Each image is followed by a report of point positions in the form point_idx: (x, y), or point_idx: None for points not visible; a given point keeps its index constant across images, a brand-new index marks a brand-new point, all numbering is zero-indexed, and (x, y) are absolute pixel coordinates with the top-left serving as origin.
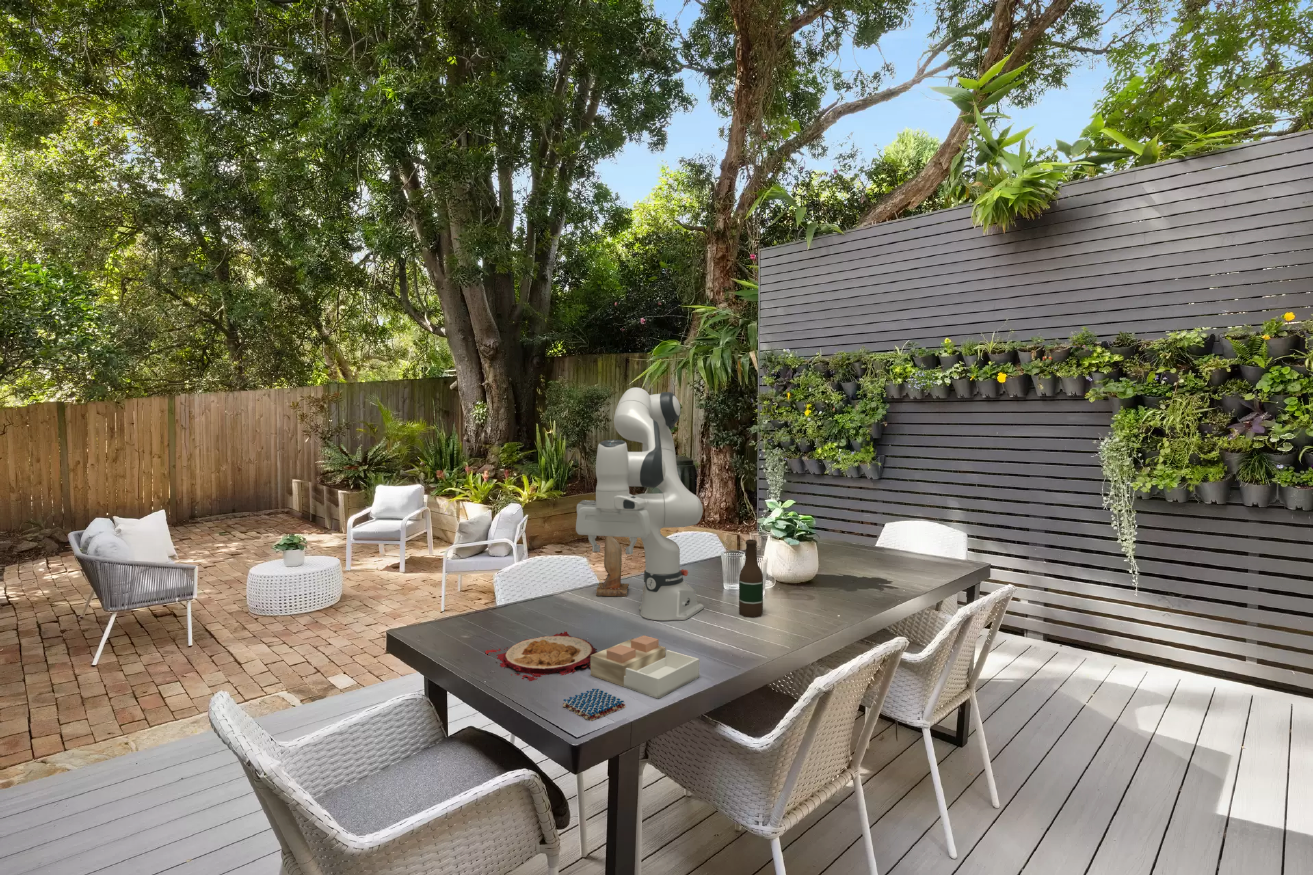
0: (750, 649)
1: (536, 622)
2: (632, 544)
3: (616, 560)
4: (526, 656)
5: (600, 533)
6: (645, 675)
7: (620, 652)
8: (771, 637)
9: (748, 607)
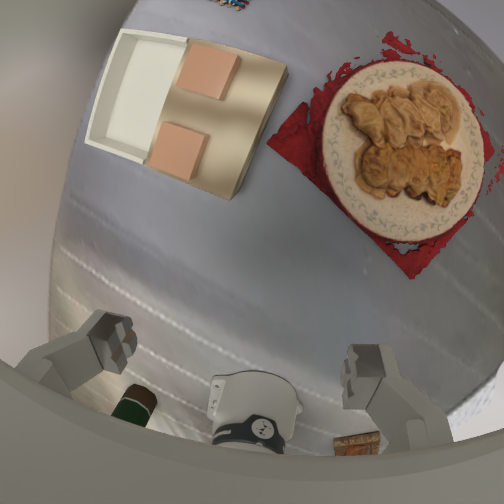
0: (84, 273)
1: (464, 322)
2: (51, 342)
3: None
4: (441, 108)
5: (319, 476)
6: (144, 31)
7: (200, 54)
8: (84, 320)
9: (134, 394)
